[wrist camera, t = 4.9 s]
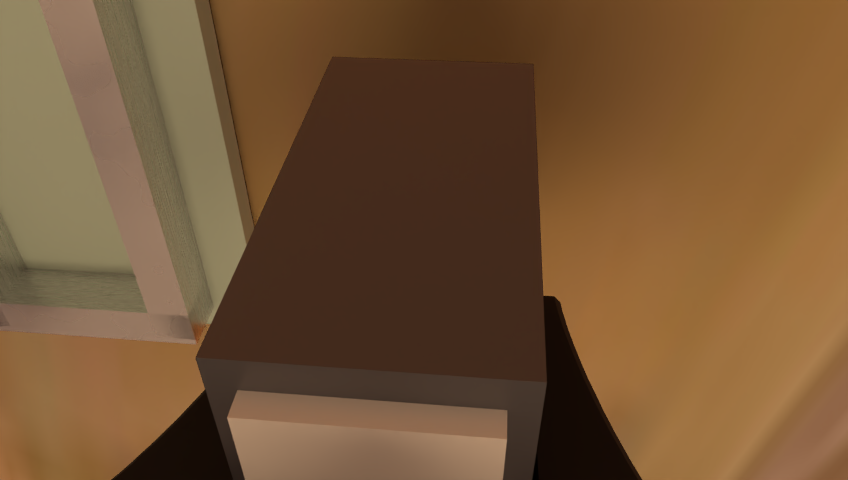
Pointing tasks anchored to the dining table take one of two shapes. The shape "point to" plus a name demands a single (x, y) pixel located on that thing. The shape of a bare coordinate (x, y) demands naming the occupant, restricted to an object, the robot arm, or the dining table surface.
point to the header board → (116, 170)
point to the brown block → (391, 286)
